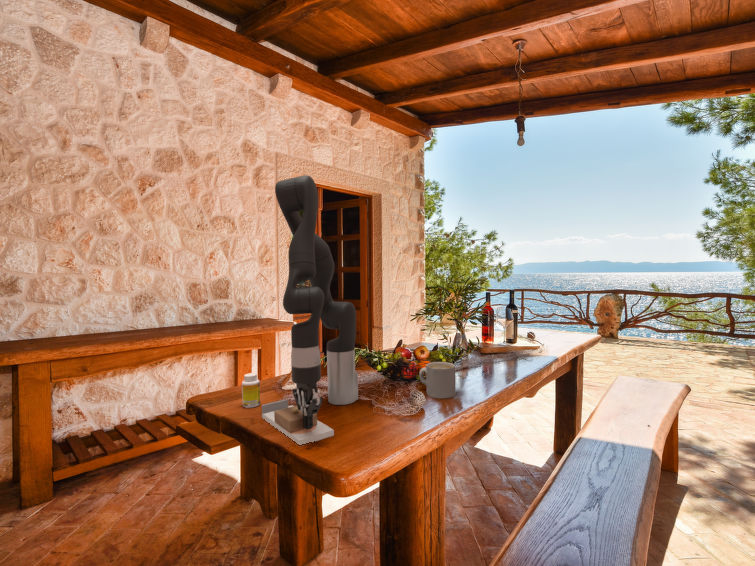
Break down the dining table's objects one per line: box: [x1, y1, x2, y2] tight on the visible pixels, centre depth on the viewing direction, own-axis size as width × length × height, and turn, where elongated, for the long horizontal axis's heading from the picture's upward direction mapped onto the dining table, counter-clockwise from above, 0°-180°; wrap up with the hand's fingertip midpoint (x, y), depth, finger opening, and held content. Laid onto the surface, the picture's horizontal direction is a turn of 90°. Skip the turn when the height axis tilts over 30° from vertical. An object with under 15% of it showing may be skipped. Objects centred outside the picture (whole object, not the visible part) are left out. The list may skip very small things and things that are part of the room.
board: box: [261, 398, 335, 446], centre depth 111 cm, size 10×25×4 cm, turn 38°
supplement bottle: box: [241, 372, 261, 409], centre depth 129 cm, size 6×6×10 cm
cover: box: [274, 405, 318, 433], centre depth 109 cm, size 8×10×4 cm
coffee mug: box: [418, 361, 457, 399], centre depth 138 cm, size 13×10×10 cm
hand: (308, 428), depth 104 cm, fingers closed
